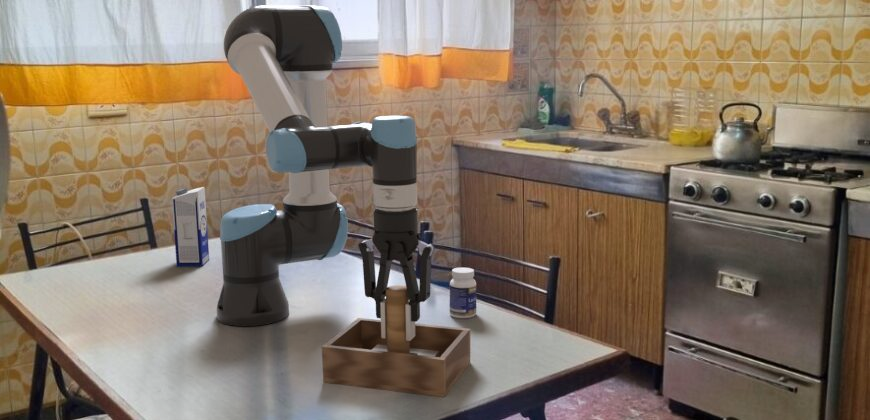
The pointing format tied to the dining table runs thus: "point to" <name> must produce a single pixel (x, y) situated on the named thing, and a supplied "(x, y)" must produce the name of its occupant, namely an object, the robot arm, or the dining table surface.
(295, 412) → the dining table surface
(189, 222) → the milk carton
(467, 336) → the box
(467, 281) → the pill bottle
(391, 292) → the dowel
